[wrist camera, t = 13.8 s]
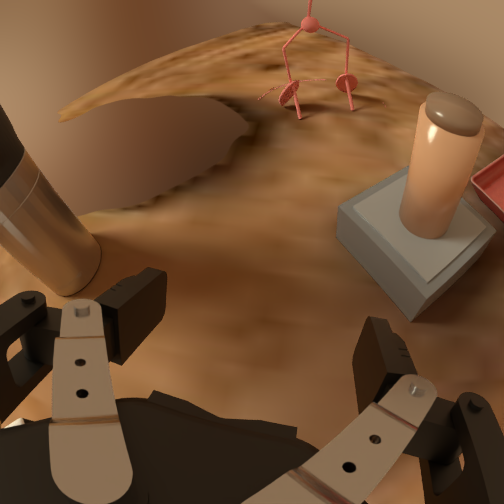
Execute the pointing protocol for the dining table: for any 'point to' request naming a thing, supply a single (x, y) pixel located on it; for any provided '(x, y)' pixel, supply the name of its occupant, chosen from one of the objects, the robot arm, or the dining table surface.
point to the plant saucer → (491, 186)
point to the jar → (440, 163)
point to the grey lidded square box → (409, 245)
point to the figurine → (343, 82)
